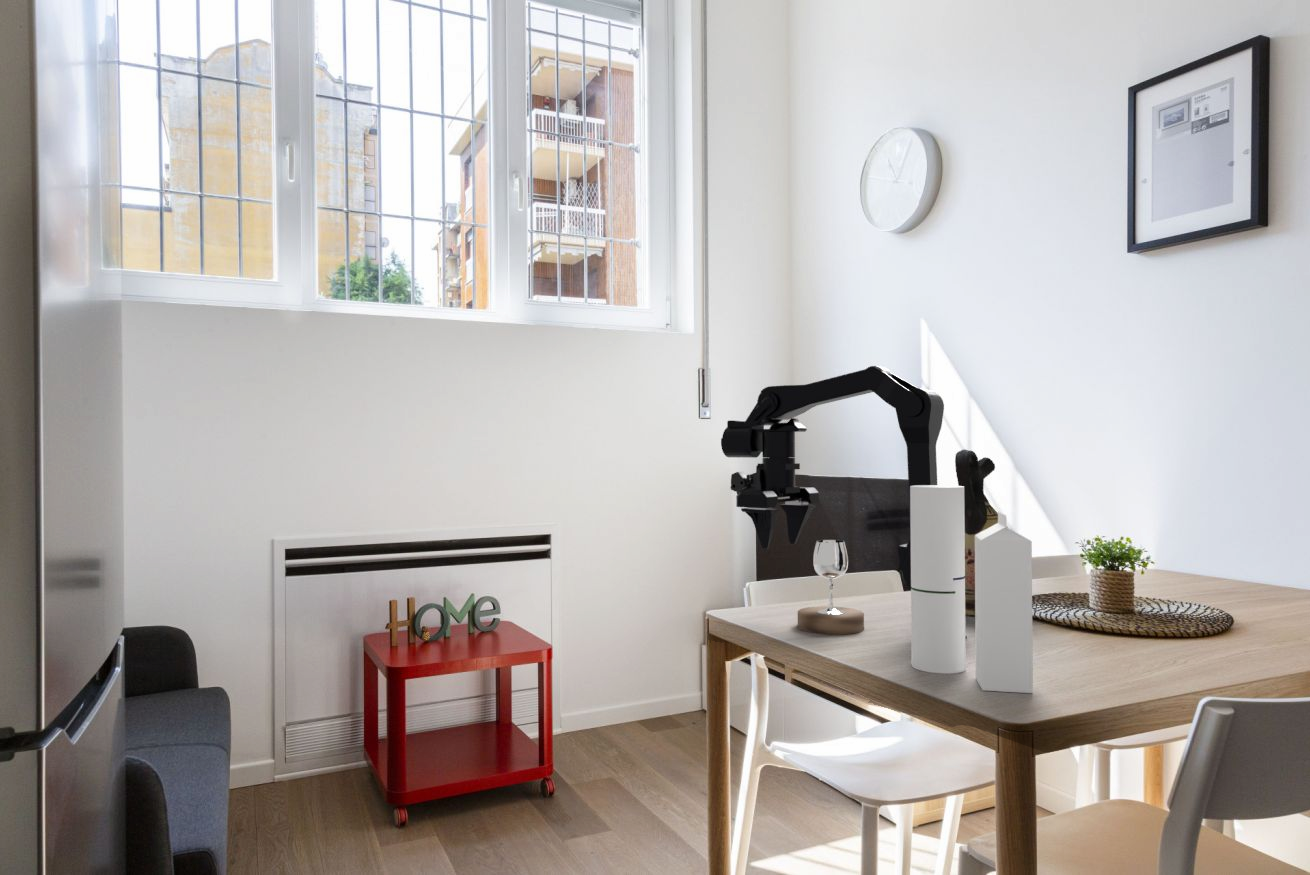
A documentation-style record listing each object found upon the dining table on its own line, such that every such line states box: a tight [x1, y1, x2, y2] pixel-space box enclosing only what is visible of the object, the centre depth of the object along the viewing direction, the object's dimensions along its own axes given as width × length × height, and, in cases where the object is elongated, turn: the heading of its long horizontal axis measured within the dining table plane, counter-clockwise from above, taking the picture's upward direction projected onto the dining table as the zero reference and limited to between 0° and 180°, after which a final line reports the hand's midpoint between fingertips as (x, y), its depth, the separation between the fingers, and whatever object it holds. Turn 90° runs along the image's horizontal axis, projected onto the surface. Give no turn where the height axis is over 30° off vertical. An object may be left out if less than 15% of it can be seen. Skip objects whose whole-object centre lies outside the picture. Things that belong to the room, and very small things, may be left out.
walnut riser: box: [797, 605, 865, 635], centre depth 144 cm, size 11×11×2 cm
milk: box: [974, 511, 1034, 694], centre depth 109 cm, size 6×6×22 cm
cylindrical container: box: [909, 484, 967, 675], centre depth 119 cm, size 7×7×25 cm
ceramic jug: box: [954, 449, 998, 616], centre depth 157 cm, size 17×15×30 cm
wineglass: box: [812, 539, 849, 615], centre depth 145 cm, size 6×6×12 cm
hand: (779, 546), depth 151 cm, fingers open, 9 cm apart
